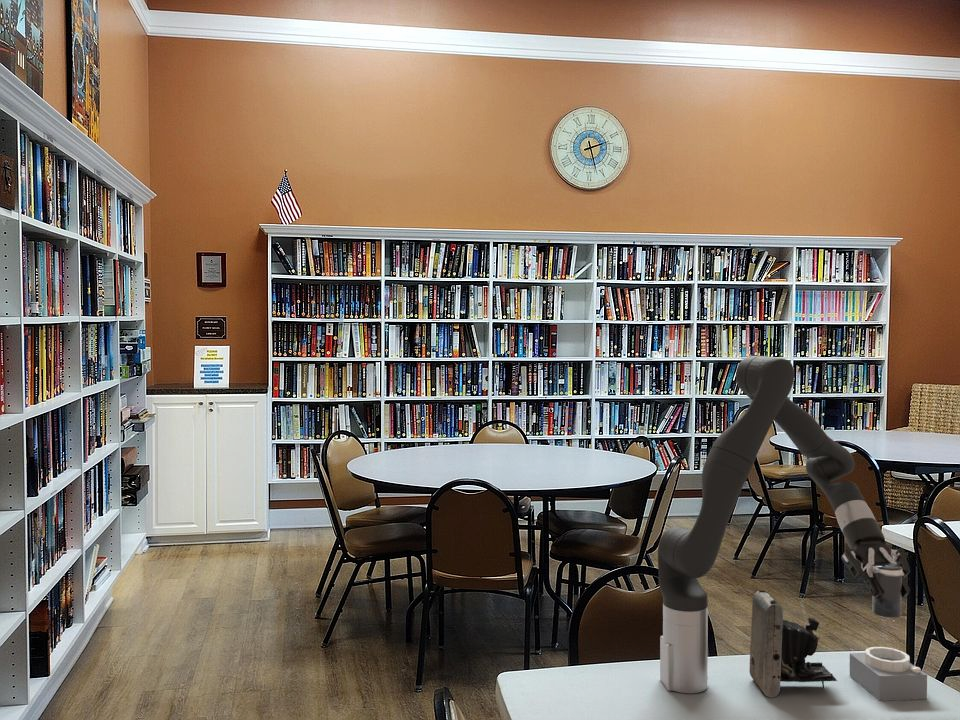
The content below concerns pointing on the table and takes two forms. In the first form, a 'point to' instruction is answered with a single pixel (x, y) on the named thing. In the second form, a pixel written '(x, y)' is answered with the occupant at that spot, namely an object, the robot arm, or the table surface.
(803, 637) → the vintage camera
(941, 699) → the table surface
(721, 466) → the robot arm
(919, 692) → the grey base with ring
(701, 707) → the table surface
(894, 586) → the lens
